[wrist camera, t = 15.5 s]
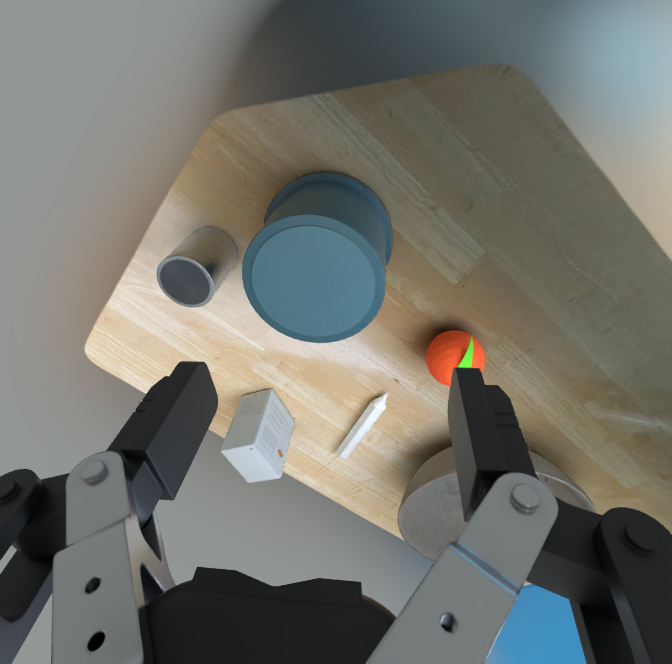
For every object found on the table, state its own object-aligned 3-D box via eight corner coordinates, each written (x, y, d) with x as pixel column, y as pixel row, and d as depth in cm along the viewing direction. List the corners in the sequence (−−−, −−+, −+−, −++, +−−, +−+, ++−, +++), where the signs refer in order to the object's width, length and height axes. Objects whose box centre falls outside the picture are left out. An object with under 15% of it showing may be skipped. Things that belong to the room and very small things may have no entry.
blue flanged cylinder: (254, 175, 40) (215, 209, 31) (393, 167, 38) (394, 202, 29) (277, 294, 49) (251, 348, 40) (392, 293, 47) (392, 349, 38)
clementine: (437, 306, 47) (444, 341, 41) (492, 319, 47) (506, 356, 42) (416, 355, 52) (420, 392, 46) (466, 366, 52) (475, 405, 46)
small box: (241, 394, 60) (217, 450, 52) (273, 386, 58) (253, 443, 50) (266, 427, 64) (247, 484, 56) (295, 421, 63) (281, 479, 54)
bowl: (469, 531, 76) (479, 588, 68) (364, 468, 68) (360, 524, 60) (606, 475, 62) (638, 538, 54) (492, 387, 54) (511, 446, 46)
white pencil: (388, 384, 56) (345, 445, 66) (377, 385, 55) (335, 447, 64) (397, 398, 55) (351, 459, 64) (385, 399, 54) (340, 461, 63)
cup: (182, 227, 45) (147, 256, 38) (231, 225, 44) (204, 255, 37) (197, 273, 48) (167, 308, 42) (243, 272, 47) (219, 307, 41)
